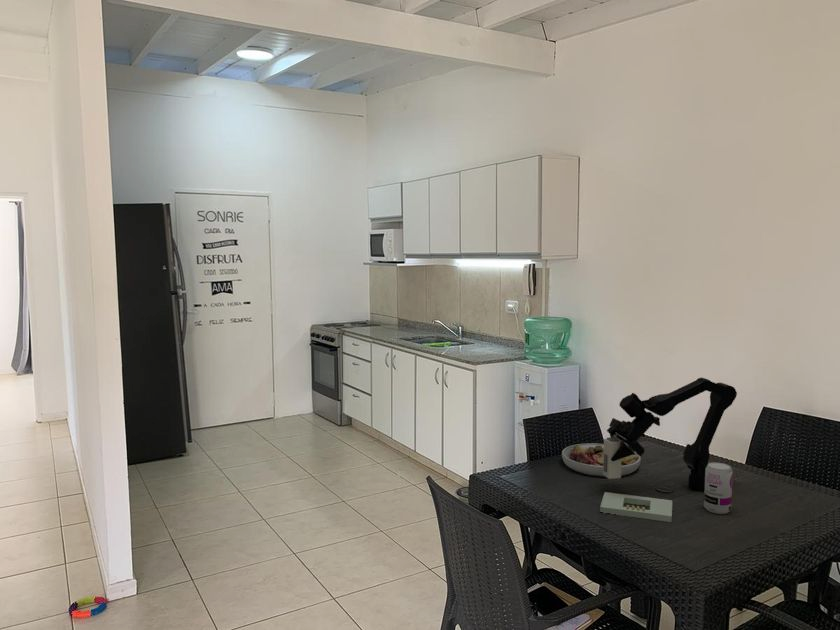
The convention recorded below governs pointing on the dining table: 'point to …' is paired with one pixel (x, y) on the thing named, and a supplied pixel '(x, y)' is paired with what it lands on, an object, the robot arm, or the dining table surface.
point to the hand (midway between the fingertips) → (608, 458)
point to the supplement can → (718, 488)
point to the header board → (657, 511)
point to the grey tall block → (610, 467)
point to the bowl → (595, 459)
